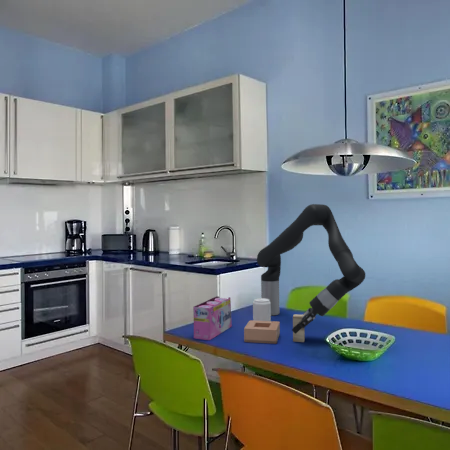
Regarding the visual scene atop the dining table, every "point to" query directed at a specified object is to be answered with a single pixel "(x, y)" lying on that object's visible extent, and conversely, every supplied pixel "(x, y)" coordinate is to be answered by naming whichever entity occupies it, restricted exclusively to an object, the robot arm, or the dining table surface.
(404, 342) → the dining table surface
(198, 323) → the gum box
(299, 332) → the post
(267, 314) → the beverage can
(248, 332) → the well
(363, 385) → the dining table surface
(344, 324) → the dining table surface
